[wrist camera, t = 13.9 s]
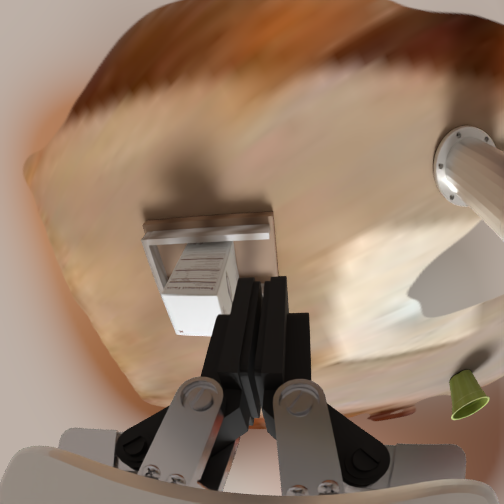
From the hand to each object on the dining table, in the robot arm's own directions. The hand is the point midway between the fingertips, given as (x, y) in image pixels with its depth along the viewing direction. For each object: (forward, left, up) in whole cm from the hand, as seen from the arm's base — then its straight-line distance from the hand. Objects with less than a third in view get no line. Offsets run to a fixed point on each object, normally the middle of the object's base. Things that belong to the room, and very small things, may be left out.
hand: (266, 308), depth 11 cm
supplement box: (+12, +18, -30) cm, 36 cm away
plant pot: (-48, +62, -31) cm, 84 cm away
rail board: (+12, +18, -31) cm, 38 cm away
